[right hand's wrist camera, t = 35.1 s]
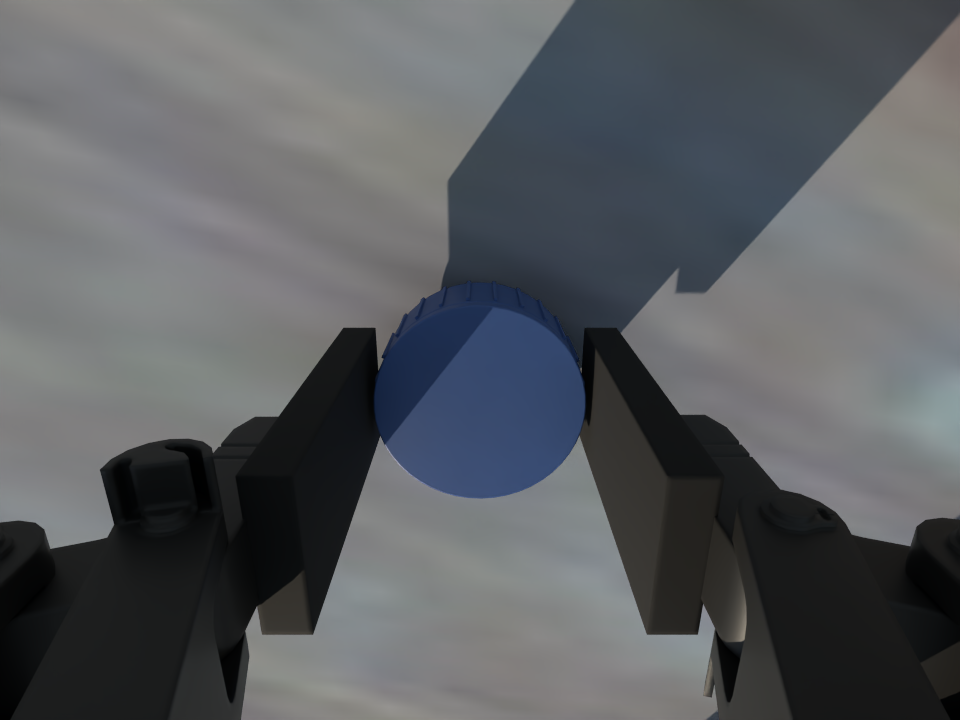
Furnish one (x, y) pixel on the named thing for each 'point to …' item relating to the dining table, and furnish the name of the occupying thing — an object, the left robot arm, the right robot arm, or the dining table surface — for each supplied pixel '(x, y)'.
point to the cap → (479, 392)
